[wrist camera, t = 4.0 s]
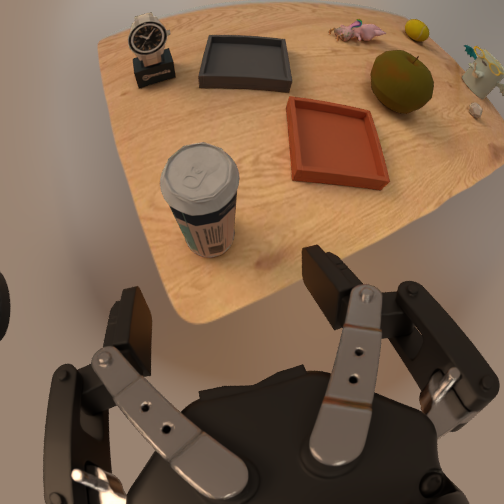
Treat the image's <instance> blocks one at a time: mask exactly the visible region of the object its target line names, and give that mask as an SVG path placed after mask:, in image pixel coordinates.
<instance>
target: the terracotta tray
mask: <svg viewBox="0 0 504 504" xmlns="http://www.w3.org/2000/svg"><path fill="white" fill-rule="evenodd" d="M286 112H287V122H288V133H289V144H290V157H291V170H292V180H293V181H305V182H316V183H326V184H336V185H344V186H353V187H361V188H368V189H376V190H382V189H383V188H384V187H385V186H386V185H387V184H388V183H389V182H390V180H389V176H388V171H387V167H386V163H385V159H384V156H383V152H382V148H381V145H380V141H379V138H378V135H377V131H376V128H375V125H374V122H373V119H372V116H371V113H370V111H368V110H364V109H360V108H355V107H351V106H346V105H341V104H336V103H331V102H325V101H319V100H313V99H306V98H299V97H291V96H289V99H288V103H287V107H286Z"/></svg>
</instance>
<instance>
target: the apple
mask: <svg viewBox="0 0 504 504" xmlns="http://www.w3.org/2000/svg"><path fill="white" fill-rule="evenodd" d="M418 57H419V56H418ZM418 57H417V58H415V57H414V56H412V55H411V54H409V53H407V52H405V51H402V50H393V51H386V52H384V53H382V54H381V55H379V56H378V57H377V58H376V60H375V62H374V65H373V68H372V71H371V87H372V90H373V93H374V94H375V96H376V97H377V98H378V100H379V101H380V102H382V103H383V104H384V105H385V106H386V107H388V108H389V109H391V110H393V111H395V112H398V113H404V114H407V113H410V112H412V111H415V110H417V109H420V108H422V107H423V106H424V105H425V104H426V103H427V102H428V101H429V100H430V99H431V98H432V94H433V88H434V81H433V78H432V75H431V72H430V71H429V70H428V68H427V67H426V66H425V65H424V64H423V63H422V62H421V61H419V60H418Z"/></svg>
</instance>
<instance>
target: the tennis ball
mask: <svg viewBox="0 0 504 504" xmlns="http://www.w3.org/2000/svg"><path fill="white" fill-rule="evenodd" d="M405 31H406V33H407V35H408V36H409V37H410V38H411V39H413V40H415V41H419V42H422V41H425V40H426V39H427V38H428V37H429V29H428V27H427V26H426V25H425V24H424V23H423V22H421V21H420V20H416V19H411V20H409V21H408V22H407V23H406V25H405Z"/></svg>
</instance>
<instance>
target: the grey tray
mask: <svg viewBox="0 0 504 504" xmlns="http://www.w3.org/2000/svg"><path fill="white" fill-rule="evenodd" d="M291 84H292V76H291V70H290V64H289V58H288V52H287V47H286V41H285V39H278V38H269V37H258V36H242V35H209V37H208V40H207V44H206V48H205V52H204V56H203V60H202V64H201V68H200V72H199V88H238V89H257V90H269V91H280V92H288V93H289V91H290V88H291Z"/></svg>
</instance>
